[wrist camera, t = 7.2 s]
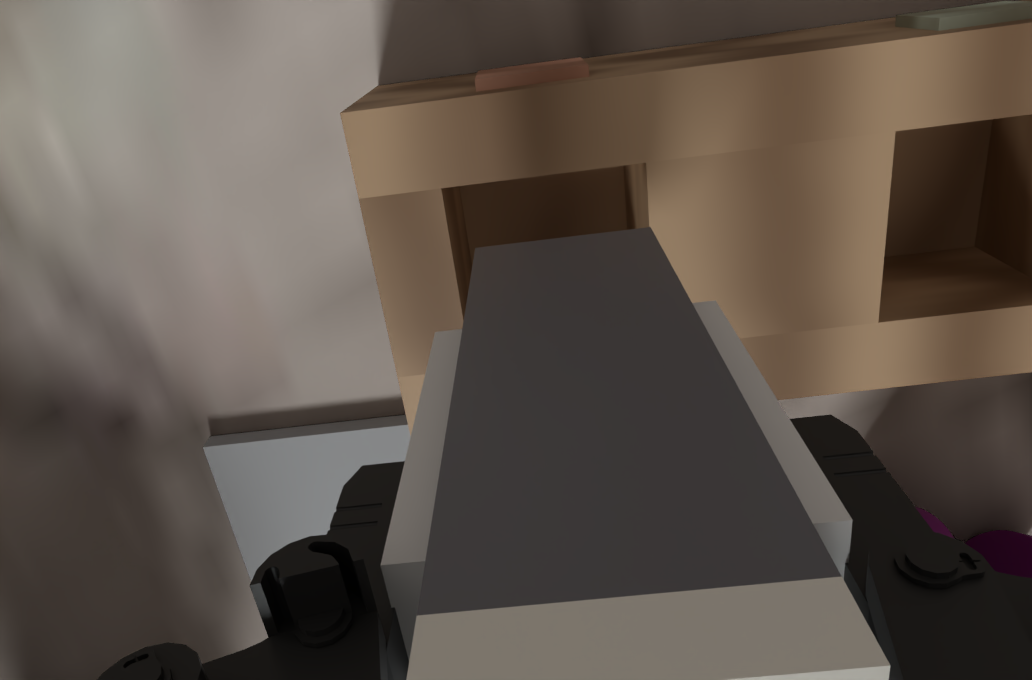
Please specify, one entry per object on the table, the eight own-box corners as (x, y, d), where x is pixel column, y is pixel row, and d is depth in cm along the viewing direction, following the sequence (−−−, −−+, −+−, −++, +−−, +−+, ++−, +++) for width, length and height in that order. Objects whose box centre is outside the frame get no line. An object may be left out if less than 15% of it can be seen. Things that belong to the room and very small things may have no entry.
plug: (498, 398, 19) (472, 964, 8) (475, 247, 17) (402, 707, 6) (657, 381, 19) (855, 940, 8) (650, 227, 17) (890, 665, 6)
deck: (268, 602, 34) (263, 615, 33) (210, 436, 30) (202, 447, 30) (462, 582, 34) (461, 595, 33) (428, 412, 30) (426, 422, 29)
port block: (430, 355, 29) (411, 440, 23) (376, 76, 24) (337, 101, 19) (1012, 288, 28) (1134, 361, 22) (1064, -16, 23) (1231, -17, 18)
